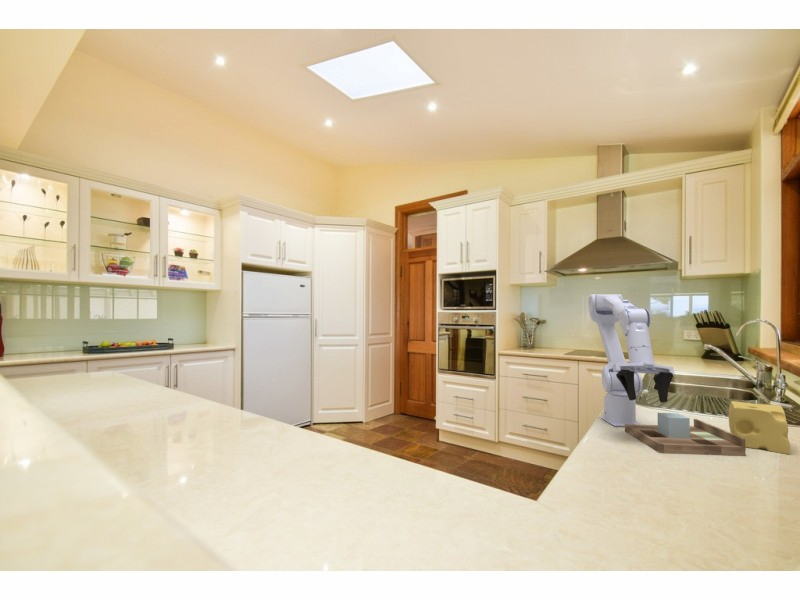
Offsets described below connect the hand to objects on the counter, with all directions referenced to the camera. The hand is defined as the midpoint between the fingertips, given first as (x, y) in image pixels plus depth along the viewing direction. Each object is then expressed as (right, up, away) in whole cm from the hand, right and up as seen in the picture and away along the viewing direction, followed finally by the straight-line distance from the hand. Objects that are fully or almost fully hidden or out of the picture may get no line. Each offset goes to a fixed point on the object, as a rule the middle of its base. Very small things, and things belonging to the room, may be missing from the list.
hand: (648, 400), depth 101 cm
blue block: (+7, -9, +1) cm, 12 cm away
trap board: (+8, -11, +1) cm, 14 cm away
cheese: (+28, -12, 0) cm, 30 cm away
